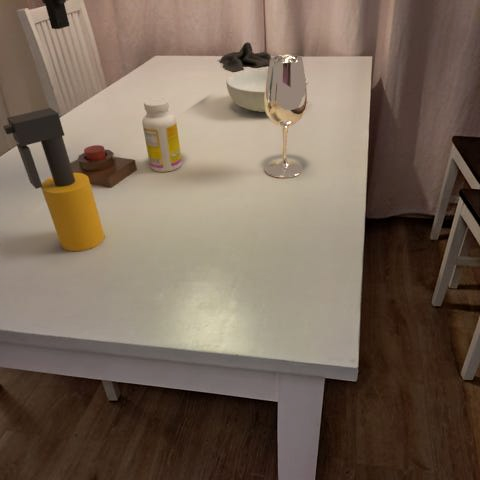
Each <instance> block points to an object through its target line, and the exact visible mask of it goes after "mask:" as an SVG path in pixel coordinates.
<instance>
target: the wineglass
mask: <svg viewBox="0 0 480 480" xmlns="http://www.w3.org/2000/svg"><path fill="white" fill-rule="evenodd" d="M269 62H270V63H269V65H268V68H267V69H268V74H267V79H266V86H265V94H264V107H265V111H266V112H265V114H266V116H267V118H268V119H269V121H271V122H272V123H273V124H275V125H276V126H277V127H281V131H282V158H281V160H278V161H274V162H271V163H269V164H267V165H266V166H265V172H266V174H268V175H269V176H271V177H274V178H281V179H285V178H286V179H287V178H293V177H297V176H299V175H301V174H302V173H303V171H304V167H303V165H302V164H300V163H298V162H296V161H291V160H287V143H288V142H287V140H288V131H289V127H291V126H293V125H295V124H296V123H298V121H300V120H301V119H302V117H303V116H304V115H305V112H306V109H307V104H308V90H307V88H308V87H307V88H306V80H305V76H306V73H305V66H304V62H303V57H302V56H300V55H295V54H279V55H275V56H271V59H270V61H269Z"/></svg>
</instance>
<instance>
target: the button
mask: <svg viewBox="0 0 480 480" xmlns="http://www.w3.org/2000/svg"><path fill="white" fill-rule="evenodd" d="M83 153H84V154H85V157H86V160H99V159H103V158H104V157H106V153H105V146H103V145H100V144H94V145H89V146H87V147H85V148H83Z"/></svg>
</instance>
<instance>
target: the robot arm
mask: <svg viewBox="0 0 480 480" xmlns="http://www.w3.org/2000/svg"><path fill="white" fill-rule="evenodd" d="M41 1H42V4H44V5H45V8H46V12H47V16H48V20H49V24H50V27H51V30H60V29H64V28H67V27H70V22H69V18H68V14H67V9H66V5H65V4H66V3H67V0H41Z"/></svg>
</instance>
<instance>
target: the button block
mask: <svg viewBox="0 0 480 480" xmlns="http://www.w3.org/2000/svg"><path fill="white" fill-rule="evenodd" d="M104 149H105V148H104ZM105 153H106V157H104V158H103V159H99V160H86V157H85V154H84V152H83V153H81V154H79V155H78V157H77V159H75V160H73V161H71V162H70V164H71V168H72V171H73V173H82V174H85V175H87V176H88V178H89V181H90V185H91V186H97V187H103V188H107V189H112V188H113V187H115V186H116V185H118V184H119V183H120V182H122V181H123V180H125V179H126V178H128V177H129V176H130V175H132V174H133V173H135V172H136V171H137V170H138V169H137V168H138V167H137V163H136V159H132V158H125V157H118V156H115V154H114V152H113V151H112V150H110V149H105Z"/></svg>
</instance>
